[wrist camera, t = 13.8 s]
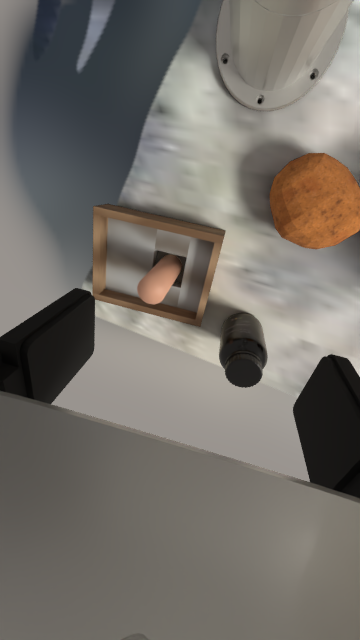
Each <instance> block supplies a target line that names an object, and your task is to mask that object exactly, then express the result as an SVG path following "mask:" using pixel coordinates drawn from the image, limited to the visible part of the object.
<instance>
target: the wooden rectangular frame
mask: <svg viewBox="0 0 360 640" xmlns="http://www.w3.org/2000/svg"><path fill="white" fill-rule="evenodd" d="M93 211H94V212H93V296H94V297H95V299H96V300H99V301H103V302H107V303H111V304H115V305H118V306H122V307H126V308H130V309H134V310H138V311H141V312H145V313H149V314H153V315H157V316H160V317H164V318H168V319H172V320H176V321H180V322H183V323H187V324H191V325H195V326H199V327H200V326H201V322H202V318H203V315H204V311H205V307H206V303H207V299H208V296H209V292H210V288H211V284H212V281H213V277H214V273H215V269H216V265H217V262H218V258H219V254H220V250H221V247H222V243H223V239H224V235H225V231H224V230H220V229H215V228H211V227H207V226H202V225H198V224H194V223H189V222H185V221H180V220H176V219H172V218H167V217H163V216H159V215H154V214H150V213H146V212H141V211H137V210H133V209H128V208H124V207H119V206H115V205H110V204H105V205H98V206H94V207H93ZM158 250H159V251H163V252H167V253H171V254H175V255H179V256H183V257H187V260H186V265H185V270H184V275H183V280H182V283H178V282H174V283H173V285H172V286H171V288H170V289H169V291H168V293H167V294H166V296H165V297H164V299H163V300H162V301H161V302H160V303H158V304H148V303H146V302H144V301H143V300H142V299H141V298H140V297H139V295H138V292H137V286H138V283H139V282H140V280H141V279H142V278H143V277H144V276H145V275H146V274H147V273H148V272H149V271H150V270H151V269H152V268H153V267H154V266H155V265H156V259H157V252H158Z"/></svg>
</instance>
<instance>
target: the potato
mask: <svg viewBox="0 0 360 640" xmlns="http://www.w3.org/2000/svg"><path fill="white" fill-rule="evenodd" d="M270 208H271V212H272V216H273V220H274V224H275V228H276V230H277V231H278V233H279V234H280V235H281V237H282V238H284V239H286V240H289V241H291V242H293V243H295V244H297V245H299V246H302V247H305V248H311V249H320V248H325V247H330V246H335V245H337V244H338V243H340V242H342V241H343V240H345V239H347V238H348V237H350V236H352V235H353V234H355V233H357V232H358V231H359V230H360V188H359V186H358V184H357V182H356V180H355V178H354V177H353V175H352V174H351V172H350V171H349V169H348V168H347V167H346V166H344V165H343V164H342V163H340V162H339V161H338V160H336V159H335V158H333V157H331V156H329V155H327V154H325V153H308V154H306V155H304V156H302V157H299V158H297V159H295V160H293V161H290V162H289V163H288V164H287V165H286V166H285V167H284V168H283V169H282V170H281V171H280V172H279V173H278V174H277V175H276V176H275V177H274V180H273V184H272V188H271V191H270Z"/></svg>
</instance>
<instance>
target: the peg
mask: <svg viewBox="0 0 360 640" xmlns="http://www.w3.org/2000/svg"><path fill="white" fill-rule="evenodd" d="M181 270H182V263H181V261H180V259H179V258H178V257H177V256H175V255H166V256H164V257H163V258H162V259H161V260H160V261H159V262H158V263H157V264H156V265H155V266H154V267H153V268H152V269H151V270H150V271H149V272H148V273H147V274H146V275H145V276H144V277H143V278H142V279H141V280H140V282H139V283H138V286H137V292H138V295H139V297H140V298H141V299H142V300H143V301H144V302H146V303H148V304H158V303H160V302H161V301H162V300H163V299H164V297H165V296H166V294H167V293H168V291H169V289H170V288H171V286H172V285H173V283H174V281H175V280H176V278H177V277H178V275H179V274H180V272H181Z"/></svg>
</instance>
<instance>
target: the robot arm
mask: <svg viewBox="0 0 360 640" xmlns="http://www.w3.org/2000/svg"><path fill="white" fill-rule="evenodd" d="M353 1H354V0H223V2H222V5H221V9H220V13H219V17H218V23H217V32H216V54H217V61H218V66H219V70H220V73H221V77H222V79H223V81H224V83H225V86H226V88H227V89H228V90H229V92H230V93H231V95H232V96H233V97H234V98H235V99H236V100H237V101H238V102H239V103H241V104H242V105H244V106H246V107H248V108H250V109H254V110H257V111H273V110H278V109H282V108H284V107H286V106H289V105H291V104H293V103H294V102H296V101H297V100H299V99H300V98H302V97H303V96H304V95H305V94H307V93H308V92H309V91H310V90H311V89H312V88H313V87H314V86H315V85H316V84H317V82H318V81H319V80H320V79H321V78H322V76H323V75H324V73H325V72H326V70H327V69H328V67H329V66H330V64H331V63H332V61H333V59H334V57H335V55H336V53H337V51H338V49H339V46H340V43H341V40H342V38H343V35H344V32H345V27H346V23H347V18H348V12H349V7H350V5H351V4H352V2H353ZM225 59H227V60H228V62H227V64H223V61H224V60H225ZM312 74H313V75H314V79H313V80H311V79H310V75H312ZM259 99H261V100H262V103H261V104H258V103H257V101H258V100H259ZM94 326H95V297H94V296H92V295H91V292H90V291H86V290H82V289H78V288H75V289H73V290H72V291H70V292H69V293H67V294H66V295H64V296H62V297H61V298H59V299H58V300H56V301H55V302H53V303H52V304H50V305H49V306H47V307H46V308H44V309H43V310H41V311H39V312H38V313H36V314H35V315H33V316H32V317H30V318H29V319H27V320H26V321H24V322H23V323H21V324H20V325H18V326H16V327H15V328H14V329H12V330H10V331H9V332H7V333H6V334H4V335H3V336H1V337H0V640H360V377H359V375H358V374H357V372H356V370H355V369H354V367H353V366H352V364H351V363H350V361H349V360H348V359H347V358H344V357H340V356H336V355H332V354H330V355H328V356H327V357H323V358H322V359H321V360H320V362H319V364H318V365H317V367H316V369H315V370H314V372H313V374H312V375H311V377H310V379H309V380H308V382H307V384H306V385H305V387H304V389H303V390H302V392H301V394H300V395H299V397H298V399H297V400H296V402H295V404H294V407H293V413H294V418H295V422H296V426H297V430H298V434H299V438H300V442H301V446H302V450H303V454H304V458H305V462H306V466H307V471H308V475H309V479H310V482H307V481H304V480H301V479H298V478H294V477H291V476H288V475H284V474H281V473H278V472H275V471H271V470H268V469H265V468H262V467H259V466H255V465H252V464H249V463H246V462H242V461H239V460H236V459H233V458H229V457H226V456H222V455H219V454H216V453H213V452H209V451H206V450H203V449H199V448H196V447H193V446H190V445H186V444H183V443H179V442H176V441H173V440H169V439H166V438H163V437H159V436H156V435H153V434H150V433H146V432H143V431H140V430H136V429H133V428H130V427H126V426H123V425H119V424H116V423H112V422H109V421H106V420H103V419H99V418H95V417H92V416H89V415H86V414H82V413H79V412H75V411H72V410H69V409H65V408H62V407H58V406H55V405H51V403H52V402H53V401H54V400H55V399H56V397H57V396H58V395H59V394H60V393H61V391H62V390H63V389H64V388H65V387H66V385H67V384H68V383H69V382H70V381H71V379H72V378H73V377H74V376H75V375H76V373H77V372H78V371H79V370H80V369H81V368H82V366H83V365H84V364H85V363H86V362H87V360H88V359H89V358H90V357H91V355H92V354H93V351H94V330H95V329H94V328H95V327H94Z"/></svg>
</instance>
